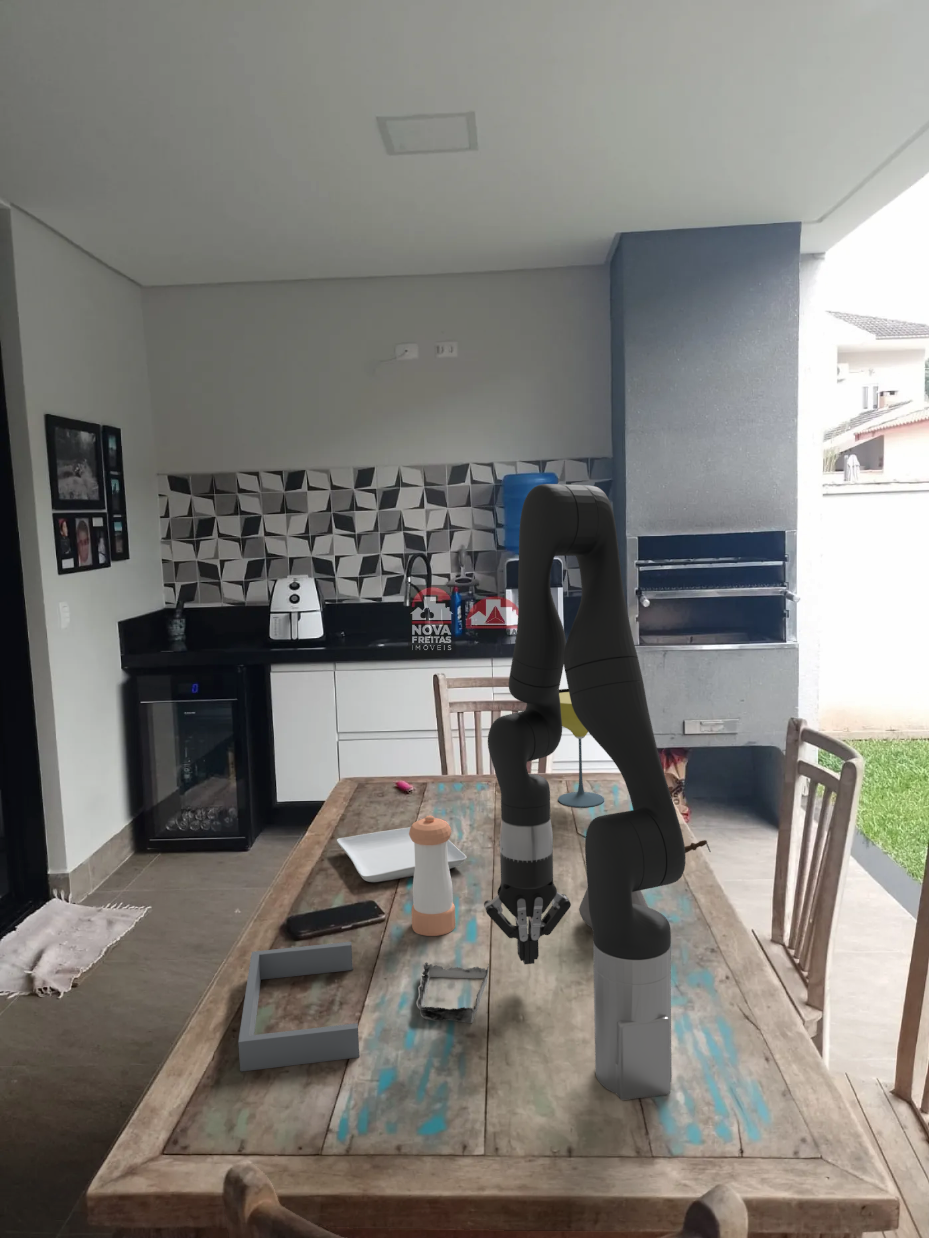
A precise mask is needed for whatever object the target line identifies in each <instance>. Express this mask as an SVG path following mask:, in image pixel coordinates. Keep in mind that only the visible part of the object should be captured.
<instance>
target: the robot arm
mask: <svg viewBox="0 0 929 1238" xmlns="http://www.w3.org/2000/svg"><path fill="white" fill-rule="evenodd" d="M523 501H524V502H523V504H522V508H521V514H520V519H519V529H518V530H519V535H518V537H519V538H518V571H517V572H518V574H517V575H518V577H517V578H518V580H517V583H518V584H517V585H518V588H517V589H518V590H517V591H518V593H517V594H518V596H517V599H518V601H517V602H518V603H517V604H518V606H517V608H518V609H517V611H518V612H517V625H516V634H515V643H514V648H513V652H512V653H513V654H512V658H511V659H512V661H511V665H510V673H509V677H508V678H509V679H508V690H509V692H510V695H511V696H512V697H513V698H514V699H516V700H517V701H520V702H522V703H526V707H525V708H524V710H523V711H518V712H514V713H510V714H505V715H501V716H500V717H497V718H496V719H495V720H494V721H493V722H492V724H491V726H490V728H489V731H488V735H487V749H488V753H489V755H490V760H491V763H492V765H493V769H494V772H495V776H496V777H495V778H496V780H497V783H498V786H499V790H500V816H501V819H500V830H499V841H498V842H499V845H498V846H499V853H500V855H499V858H500V885H499V887H498V889H497V895H495V897H494V898H493V899H491V900H488V899H487V900H485V901H484V903H483V906H484V910H485V912H486V914H487V916H488V917H489V918H490V919H491V920H492V921H493V922H494V923H495V924H496V925H497V926H498V927H499V929H500V930H501V931H502V932H503V933H504V934H505V935H506V936H507V938H508V939H516V945H517V948H516V949H517V955H518V957H519V960H520V961H521V962H523V965H524V966H525V965H533V964H535V960H538V958H539V956H540V954H539V953H540V952H539V940H540V937H542V936H549V935H550V934H552V932H553V931H554V930H555V928H556V927H557V926H558V924H559V923H560V922H561V920H562V919H563V918H564V916H566V913H567V912H568V910H569V909H570V908H571V906H572V904H571V902H570V900H569V898H568V895H566V894H565V893H560V892H559V891H557V890H558V889H557V887H556V885H555V883H554V856H553V855H554V854H553V852H554V851H553V847H554V846H553V842H554V841H553V840H554V839H553V828H552V827H553V826H552V821H551V789H550V788H551V787H550V783H549V781H548V780H547V779H546V778H545V777H543V776H541V775H539V774H535V773H529V771H528V767H527V765H528V764H527V763H528V762H532V761H536V760H539V759H543V758H546V757H548V756H550V755H552V754H553V753H554V752H555V751H556V750H557V748H558V746H559V744H560V742H561V740H562V737H563V726H562V718H561V706H560V696H559V690H560V685H561V682H562V676H563V670H564V672H565V678H566V684H567V689H569V694H570V699H571V703H572V707H573V710H574V712H575V714H576V716H577V717H578V719H579V721H580V722H581V723H582V725H583V726H584V727H585V728H586V730H587V731H588V734H589V735H590V736H591V737H592V738H593V739H594V741H596V742H597V743H598V745H599V746H600V747H601V748H602V749H603V750H604V752H605V753H606V754H607V755H608V756H609V757H610V759H611V760H612V761H613V763H614V764H615V765H616V767H617V769H618V771H619V772H620V774H621V776H622V778H623V780H624V781H623V782H624V783H625V786H626V789H627V791H628V795H629V798H630V802H631V806H632V810H627V811H621V812H614V813H609V814H603V815H600V816H599V815H598V816H596V817H594V818H593V819H592V820H591V821H590V823H589V824H588V827H587V830H586V833H585V842H584V853H585V855H584V856H585V867H586V881H587V888H588V900H589V912H590V917H591V922H592V928H593V929H592V928H591V929H592V942H593V944H592V945H593V948H592V949H593V998H594V999H593V1004H594V1005H593V1007H594V1011H593V1012H594V1013H593V1016H594V1019H593V1020H594V1021H593V1022H594V1062H595V1063H594V1065H595V1066H594V1067H595V1076H596V1077H595V1078H596V1079H597V1081H598V1082H599V1084H600V1085H602V1086H603V1087H604V1088H605V1089H606V1090H608V1091H610V1092H612V1093H614V1094H616V1095H617V1096H618V1097H619V1099H620V1100H622V1101H625V1100H633V1099H634V1100H635V1099H641V1098H649V1097H656V1096H664V1095H669V1094H671V1083H672V1078H673V1077H672V1075H673V1074H672V1073H673V1072H672V1071H673V1069H672V1066H673V1065H672V971H671V970H672V950H671V949H672V946H671V945H672V942H671V941H672V935H671V934H672V932H671V931H672V929H671V925H670V921H669V920H668V918H667V917H666V916H665V915H663V914H662V913H661V912H659V911H658V910H656V909H653V908H651V907H649V906H648V907H646V906H642V905H637V904H632V892H634V891H639V890H641V891H643V890H648V889H654V888H658V887H663V886H667V885H671V884H674V883H676V882H678V881H679V880H680V879H681V878H682V876H683V874H684V872H685V868H686V853H685V842H684V837H683V833H682V828H681V824H680V822H679V821H680V820H679V818H678V814H677V811H676V807H675V805H674V801H673V798H672V795H671V792H670V788H669V786H668V782H667V777H666V775H665V771H664V768H663V765H662V762H661V758H660V755H659V751H658V747H657V742H656V739H655V734H654V729H653V726H652V721H651V716H650V711H649V708H648V701H647V696H646V690H645V685H644V680H643V676H642V670H641V666H640V661H639V656H638V652H637V648H636V646H635V642H634V638H633V633H632V628H631V624H630V623H631V622H630V618H629V611H628V607H627V602H626V597H625V591H624V586H623V585H624V584H623V578H622V577H623V576H622V569H621V560H620V552H619V550H620V549H619V543H618V534H617V526H616V519H615V516H614V515H615V514H614V510H613V507H612V505H611V501H610V499H609V497H608V496H607V494H606V492H604V491H603V490H602V489H601V488H600V487H597V486H594V485H588V484H587V485H586V484H564V483H563V484H562V483H542V484H538V485H536V486H534V487H533V488H532V489H530V490H529V492H528V493H527V495H526V497H525V499H524V500H523ZM558 556H559V557H560V556H561V557H563V556H564V557H567V556H568V557H569V556H571V557H572V556H573V557H575V558H576V560H577V563H578V568H579V573H580V582H581V597H580V602H579V606H578V610H577V613H576V615H575V617H574V620H573V623H572V626H571V628H570V631H569V634H568V636H567V638H566V634H565V633H566V632H565V629H564V625H563V623H562V621H561V617H560V615H559V612H558V610H557V607H556V605H555V602H554V598H553V595H552V589H551V574H552V573H551V572H552V568H553V567H552V566H553V563H554V559H555V557H558ZM502 904H503V905H504V907H505V908H506V909H507V910H508V912H509V913H510V914H511V915H512V916H514V918H515V919H514V921H515V925H513V924H512V923H511V922H510V921H509V920H508V918H507V917H506V916H505V915H504V914H503V910H504V909H503V907H502ZM549 905H551V907H549ZM548 907H549V909H548ZM547 909H548V911H547ZM546 911H547V912H546ZM545 912H546V913H545ZM544 913H545V915H544V916H543V917H542V915H543V914H544Z"/></svg>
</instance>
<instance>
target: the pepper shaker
mask: <svg viewBox="0 0 929 1238" xmlns="http://www.w3.org/2000/svg"><path fill="white" fill-rule="evenodd" d="M410 827H411V828H410V831H409V835H410V838H411V840H412V841H413V842H414V849H415V871H414V876H413V880H412V898H413V899H412V900H413V904H412V906H411V927H412V928H411V929H412V931H413V932H415V933H416V934H418V935H421V936H424V937H425V936H427V937H436V936H437V937H438V936H443V935H447V934H449V933H450V932H453V930H454V929H455V928H456V906H455V904H454V902H453V882H452V881H453V880H452V877H451V871H450V869H449V866H448V852H447V841H448V840H449V841H450V838H451V836H452V831H453V830H452V827H451V826H450V824H449V823H448V822H447V821H446V820H443V819H441V818H437V817H434V816H433V815H427V816H425V817H424V818H421V819H418V820H417V821H414V822H413V823H412V824H411V826H410Z"/></svg>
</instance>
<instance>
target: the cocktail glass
mask: <svg viewBox="0 0 929 1238" xmlns="http://www.w3.org/2000/svg"><path fill="white" fill-rule="evenodd" d="M559 696H560V706H561V718H562V728H566V730H569V731H570V732H571V733H572V735H573V736H574V738H576V739H578V788H577V791H573V792H572V791H571V792H566V793H563V794H561V795H559V796H558V797H557V801H558V803H560V804H561V805H563V806H567V807H572V808H591V807H592V808H593V807H596V806H600V805H601V804H603V803H604V802H605V798H604V796H603V795H601V794H598V793H595V792H590V791H585V790H584V783H583V759H582V740H583V739H584V738H585V737H586V736H587V734H589V732H588V731H587V730H586V728H585V727H584V726H583V725H582V723H581V722H580V721H579V719H578V717H577V716H576V714H575V712H574V710H573V707H572V703H571V699H570V694H569V689H568V688H561V689H560V688H559Z"/></svg>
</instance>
